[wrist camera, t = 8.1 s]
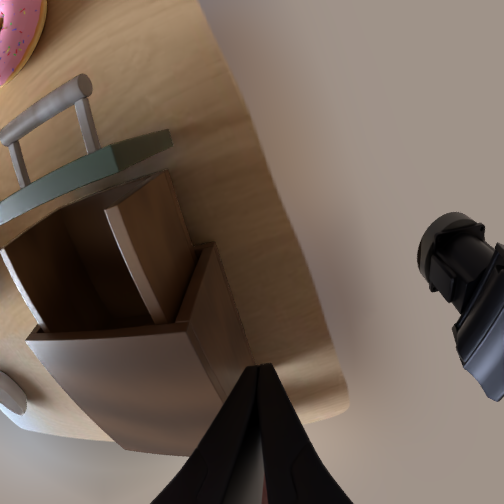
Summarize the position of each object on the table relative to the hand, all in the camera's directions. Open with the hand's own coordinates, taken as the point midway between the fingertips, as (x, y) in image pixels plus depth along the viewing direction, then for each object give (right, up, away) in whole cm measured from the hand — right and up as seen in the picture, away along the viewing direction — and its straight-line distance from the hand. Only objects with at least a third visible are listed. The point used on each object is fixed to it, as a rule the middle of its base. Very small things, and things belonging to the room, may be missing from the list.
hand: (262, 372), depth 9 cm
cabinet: (-7, -3, +16) cm, 18 cm away
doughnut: (-21, +23, +4) cm, 31 cm away
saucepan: (-50, -20, +27) cm, 60 cm away
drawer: (-10, +7, +11) cm, 16 cm away
